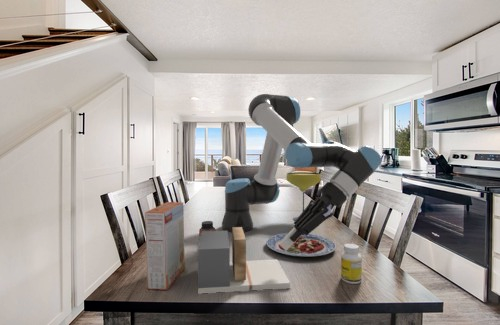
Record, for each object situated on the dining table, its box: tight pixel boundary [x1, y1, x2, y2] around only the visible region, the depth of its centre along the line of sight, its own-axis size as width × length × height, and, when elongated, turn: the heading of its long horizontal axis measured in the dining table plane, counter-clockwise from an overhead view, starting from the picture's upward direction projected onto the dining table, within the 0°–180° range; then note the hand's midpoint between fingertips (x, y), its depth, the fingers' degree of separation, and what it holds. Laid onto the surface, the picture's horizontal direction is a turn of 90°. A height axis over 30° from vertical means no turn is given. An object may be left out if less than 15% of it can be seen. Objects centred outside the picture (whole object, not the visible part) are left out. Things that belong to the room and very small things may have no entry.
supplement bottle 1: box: [198, 220, 217, 243], centre depth 97 cm, size 6×6×11 cm
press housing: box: [197, 230, 291, 295], centre depth 78 cm, size 24×16×12 cm, turn 97°
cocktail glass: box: [286, 171, 322, 222], centre depth 146 cm, size 18×18×25 cm
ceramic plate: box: [266, 232, 337, 258], centre depth 103 cm, size 26×26×3 cm
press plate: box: [231, 227, 247, 281], centre depth 78 cm, size 3×12×11 cm, turn 7°
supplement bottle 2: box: [340, 243, 363, 285], centre depth 76 cm, size 5×5×10 cm
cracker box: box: [144, 201, 186, 291], centre depth 77 cm, size 14×6×21 cm, turn 174°
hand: (282, 246), depth 79 cm, fingers closed
